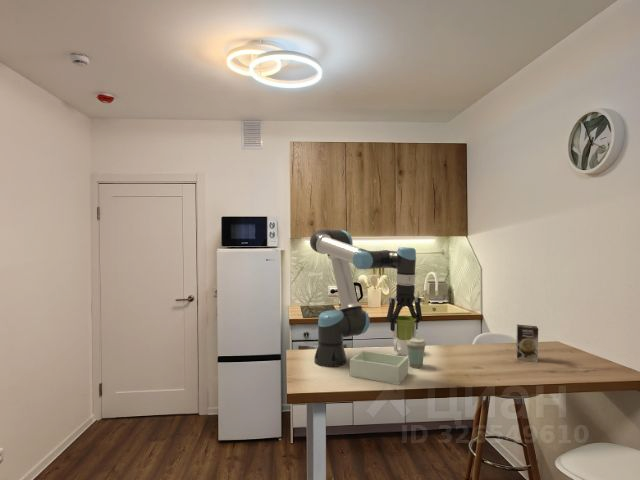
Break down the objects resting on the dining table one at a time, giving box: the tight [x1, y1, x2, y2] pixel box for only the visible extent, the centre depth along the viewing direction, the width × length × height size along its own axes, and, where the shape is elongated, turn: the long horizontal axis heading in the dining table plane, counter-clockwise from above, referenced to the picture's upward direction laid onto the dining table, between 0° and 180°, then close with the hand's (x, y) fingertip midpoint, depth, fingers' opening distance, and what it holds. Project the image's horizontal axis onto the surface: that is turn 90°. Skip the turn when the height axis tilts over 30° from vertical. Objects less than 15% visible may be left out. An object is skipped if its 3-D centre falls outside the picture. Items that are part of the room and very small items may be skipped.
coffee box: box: [515, 324, 539, 363], centre depth 195 cm, size 9×6×16 cm
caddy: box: [349, 350, 409, 385], centre depth 171 cm, size 21×15×7 cm
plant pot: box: [395, 315, 416, 340], centre depth 169 cm, size 9×9×9 cm
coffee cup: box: [407, 337, 426, 369], centre depth 183 cm, size 8×8×12 cm
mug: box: [392, 331, 418, 356], centre depth 203 cm, size 14×10×11 cm
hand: (403, 337), depth 169 cm, fingers closed on plant pot, 8 cm apart
